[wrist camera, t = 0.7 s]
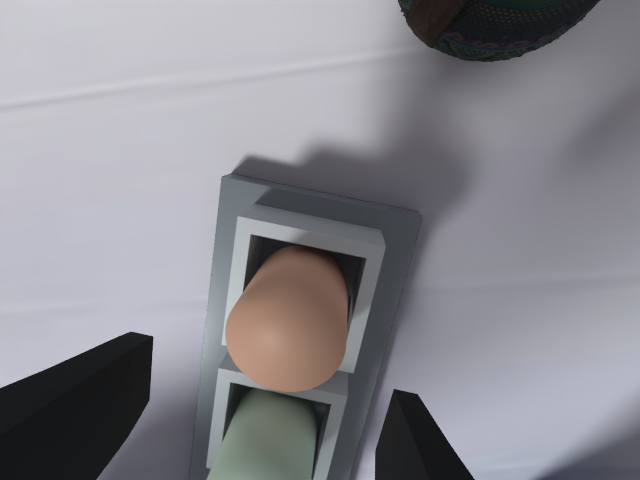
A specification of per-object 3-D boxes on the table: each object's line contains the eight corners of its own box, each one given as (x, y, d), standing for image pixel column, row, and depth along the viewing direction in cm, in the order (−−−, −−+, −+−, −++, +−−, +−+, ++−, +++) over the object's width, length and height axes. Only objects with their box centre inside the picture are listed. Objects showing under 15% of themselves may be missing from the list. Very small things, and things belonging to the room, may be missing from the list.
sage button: (309, 459, 19) (298, 545, 15) (231, 442, 19) (200, 522, 15) (325, 394, 17) (316, 469, 14) (241, 376, 18) (210, 445, 14)
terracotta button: (337, 339, 17) (332, 402, 13) (249, 320, 17) (219, 377, 13) (357, 256, 15) (358, 298, 12) (262, 236, 15) (232, 272, 12)
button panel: (328, 536, 24) (324, 607, 20) (192, 504, 24) (164, 569, 21) (417, 211, 17) (434, 233, 14) (230, 173, 18) (199, 184, 14)
